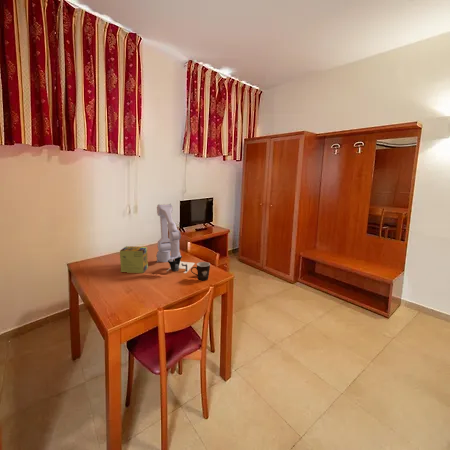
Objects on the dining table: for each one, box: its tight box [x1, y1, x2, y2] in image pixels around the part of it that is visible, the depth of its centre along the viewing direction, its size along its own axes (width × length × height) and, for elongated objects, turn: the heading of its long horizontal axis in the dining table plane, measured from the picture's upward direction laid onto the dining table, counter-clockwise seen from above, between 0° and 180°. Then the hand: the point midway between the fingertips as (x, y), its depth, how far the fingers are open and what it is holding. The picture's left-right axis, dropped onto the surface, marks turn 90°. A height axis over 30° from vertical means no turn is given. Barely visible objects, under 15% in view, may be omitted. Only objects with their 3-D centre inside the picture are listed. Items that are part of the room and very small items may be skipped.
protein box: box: [119, 245, 149, 274], centre depth 174 cm, size 10×15×16 cm
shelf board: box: [166, 261, 196, 274], centre depth 179 cm, size 14×20×2 cm
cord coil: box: [171, 264, 180, 272], centre depth 173 cm, size 5×5×5 cm
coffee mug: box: [190, 261, 211, 282], centre depth 163 cm, size 12×9×10 cm
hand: (175, 268), depth 173 cm, fingers open, 7 cm apart
